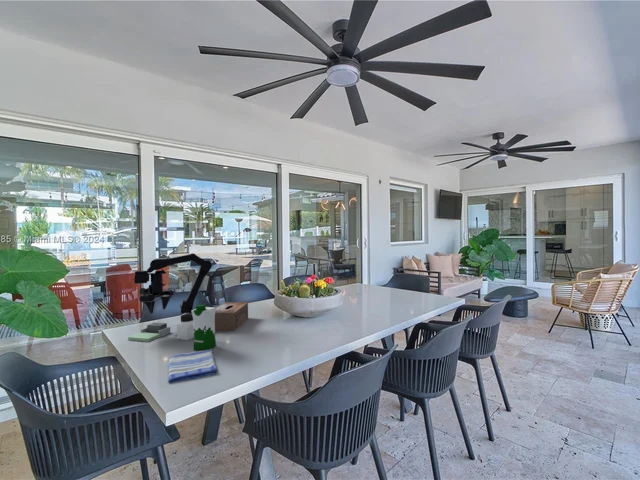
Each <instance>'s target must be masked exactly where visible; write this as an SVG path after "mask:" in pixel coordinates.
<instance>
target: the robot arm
mask: <svg viewBox="0 0 640 480" xmlns="http://www.w3.org/2000/svg"><path fill="white" fill-rule="evenodd" d="M187 262H194V263H195V264H197V265H199V268H198V273H197V275H196V278H195V280H194V282H193V284H192V286H191V289H190V291H189V293H188V295H187V297H186V298H185V299H182V300H181V304H180V305H179V309H180V313H181V315H182V314H185V313H192V312H191V310H194V305H195V304H194V303H195V300H196V297H197V295H198V293H199V291H200V288H201V286H202V284H203V281H204V279H205V277H206V276H207V275H208V274H209V272H210V270H211V269H212V266H213V264H212V262H211V261H210V260H208V259H204V258H201V257H200V256H199V255H197V254H195V253H194V252H193V253H192V252H191V253H190V254H185V255H184V254H183V255H180V256H174V257H169V258H153V259H152V260H151V262H150V263H149V267H148V268H147V269H146V270H135V271H134V278H133V280H134V284H135V285H140V284H147V283H148V282H150V284H149V285H148V287H147V288H145V287H142V288H140V289H139V294H140V297H139V302H141V303H143V304H145V306H146V307H147V309H148V311H149V314H151V315H153V313H154V308H155V304H156V303H155V302H156V300H155V298H160V300H161V305H162V307H161V308H162V310H166V308H167V306H168V303H169V302H170V300H171V298H172V297H173V296H174V290H173V289H164V286H165V285H166V284H165V283H164V279H163V278H164V277H163V276H164V275H165V274H167V271H165V270H164V268H166V267H169V266H173V265H176V264H182V263H187Z"/></svg>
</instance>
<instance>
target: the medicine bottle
mask: <svg viewBox="0 0 640 480" xmlns="http://www.w3.org/2000/svg"><path fill="white" fill-rule="evenodd" d="M176 337H177V340H182V341H189V340H193V339H194V327H193V316H192V313H185V314H181V315H180V323H178V324H177V325H176Z"/></svg>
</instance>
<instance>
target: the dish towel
mask: <svg viewBox="0 0 640 480" xmlns="http://www.w3.org/2000/svg"><path fill="white" fill-rule="evenodd" d="M213 358H214V353H213V351H212V349H209V350H204V351H199V350H197V351H192V352H189V353H187V352H186V353H177V354H173V355H171V356H170V357H169V360H168V366H167V367H168V369H167V370H168V372H167V375H168V377H167V378H168V379H167V383H176V382H180V381H181V382H182V381H188V380H194V379H199V378H203V377H208V376H209V375H210V376H213V375H214V374H215V375H217V372H218V369H217V364H216V362H215V359H213ZM215 375H214V376H215Z"/></svg>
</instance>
